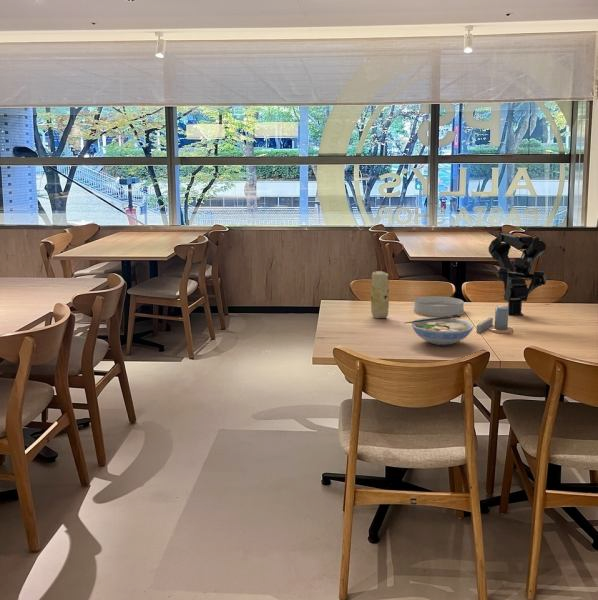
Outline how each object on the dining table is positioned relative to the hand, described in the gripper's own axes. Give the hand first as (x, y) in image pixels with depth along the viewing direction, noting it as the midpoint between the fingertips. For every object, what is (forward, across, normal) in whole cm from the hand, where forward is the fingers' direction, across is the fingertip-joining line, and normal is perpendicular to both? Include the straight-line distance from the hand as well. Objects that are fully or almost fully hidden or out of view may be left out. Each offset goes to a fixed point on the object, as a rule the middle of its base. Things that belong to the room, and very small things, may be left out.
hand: (516, 292), depth 276 cm
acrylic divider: (+19, -8, 0) cm, 20 cm away
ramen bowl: (+41, -12, -21) cm, 48 cm away
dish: (+5, -37, +15) cm, 40 cm away
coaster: (+19, -1, +1) cm, 19 cm away
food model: (+23, -53, -3) cm, 58 cm away
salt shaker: (+18, -1, 0) cm, 18 cm away
